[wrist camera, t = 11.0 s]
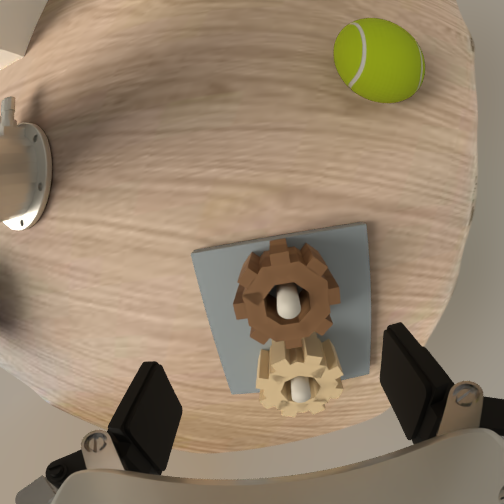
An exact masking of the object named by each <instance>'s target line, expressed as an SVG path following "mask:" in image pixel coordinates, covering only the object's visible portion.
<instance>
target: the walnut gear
mask: <svg viewBox="0 0 504 504" xmlns="http://www.w3.org/2000/svg"><path fill="white" fill-rule="evenodd" d="M291 282H294V283H296V284H297V285H299V286H300V287H302V288H303V289H302V291H301V292H300V293H299V294H298V296H299V301H300V305H301V311H300V313H299V314H298V315H297V316H296V317H295V318H292V319H285V318H282V317H281V316H280V315H279V314H278V311H277V299H276V298H275V297H273V296H272V295H270V294H269V292H270V290H271V289H272V288H273V286H274V285H279V284H285V283H291ZM237 283H239V286H238V289H237V292H236V295H235V299H234V302H233V307H234V312H235V316H236V320H240V319H248V323H249V326H251V331H250V337H251V338H252V339H254V340H256V341H257V342H259V343H261V344H262V345H264V344H265V343H266V342H267V341H268V340H269V339H270V338H271V339H272V340H274V341H276V342H280V341H284V342H285V348H286V349H291V348H297V347H302V340H301V338H305V337H310V335H311V334H312V333H313V332H314V331H315V332H316V333H318V334H320V335H321V336H323V335H324V334H325V333H326V331H327V330H328V329H329V328H330V327H331V326H332V325H333V322H332V319H331V317H330V313H331V311H330V305H335V304H340V303H341V302H340V289H339V286H338V284H337V282H336V281H335V279H334V277H333V276H332V274H331V272H330V271H329V269H328V266H327V265H326V263H325V261H324V260H323V258H322V257H321V255H320V253H319V252H318V251H317V250H316V249H314V248H313V247H311V246H310V245H309V244H307V243H305V244H304V246H303V247H302V248H301V250H299V249H297V248H296V247H295V246H293V247H287V243H286V239H285V238H282V239H276V240H270V247H269V251H264V252H263V254H262V255H261V256H260V257H259V256H258V255H256V254H255V253H253V252H251V254H250V255H249V256H248V258H247V259H246V261H245V262H244V264H243V266H242V269H241V272H240V275H239V278H238V281H237Z"/></svg>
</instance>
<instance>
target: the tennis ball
mask: <svg viewBox="0 0 504 504" xmlns="http://www.w3.org/2000/svg"><path fill="white" fill-rule="evenodd" d="M334 62H335V66H336V69H337V71H338V73H339V75H340V77H341V78H342V80H343V81H344V82H345V84H346V85H347V86H348V87H349V88H351V90H352V91H354V92H355V93H356V94H358V95H360V96H362V97H364V98H366V99H368V100H371V101H375V102H379V103H395V102H400V101H403V100H405V99H407V98H409V97H411V96H412V95H413V94H414V93H415V92H416V91H417V90H418V89H419V88H420V86H421V84H422V82H423V79H424V75H425V61H424V57H423V53H422V51H421V49H420V47H419V45H418V43H417V42H416V41H415V39H414V38H413V37H412V36H411V35H410V34H409V33H408V32H407V31H406V30H404V29H403V28H402V27H400V26H398V25H396V24H394V23H392V22H390V21H387V20H383V19H378V18H365V19H360V20H356V21H354V22H352V23H350V24H348V25H347V26H345V27H344V28H343V29H342V31H341V32H340V33H339V35H338V37H337V39H336V41H335V45H334Z"/></svg>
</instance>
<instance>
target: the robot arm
mask: <svg viewBox="0 0 504 504" xmlns="http://www.w3.org/2000/svg"><path fill="white" fill-rule="evenodd" d="M14 113H15V97H12V96H11V97H7V98H5V99H3V100H2V105H1V116H2V117H1V116H0V222H4V223H5V224H6V225H7V226H8V227H9V228H11V229H12V230H16V231H21V230H25V229H28V228H30V227H31V226H33V225H34V224H35V223H36V222H37V221H38V219H39V218H40V216H41V215H42V213H43V211H44V208H45V206H46V203H47V200H48V196H49V192H50V186H51V179H52V157H51V151H50V146H49V143H48V139H47V137H46V135H45V133H44V131H43V130H42V129H41V128H40V127H39V126H37V125H36V124H33V123H20V124H18V125H17V121H16V120H14ZM380 383H381V385H382V387H383V389H384V391H385V393H386V395H387V397H388V399H389V402H390V404H391V406H392V408H393V410H394V412H395V414H396V416H397V418H398V420H399V422H400V424H401V426H402V429H403V431H404V433H405V435H406V437H407V439H408V440H411V439H412V441H413V444H414V445H411V446H409V447H406V448H403V449H400V450H398V451H395V452H392V453H388V454H385V455H382V456H379V457H376V458H372V459H369V460H365V461H362V462H358V463H354V464H350V465H346V466H342V467H337V468H333V469H328V470H323V471H317V472H311V473H305V474H298V475H291V476H282V477H272V478H259V479H237V480H236V479H234V480H218V479H217V480H216V479H215V480H213V479H192V478H180V477H170V476H161V473H162V471H164V470H165V469H166V467H167V463H168V460H169V456H170V452H171V449H172V446H173V443H174V439H175V436H176V432H177V429H178V426H179V422H180V419H181V416H182V406H181V404H180V402H179V400H178V398H177V396H176V394H175V392H174V390H173V388H172V386H171V384H170V382H169V380H168V378H167V375H166V373H165V371H164V369H163V367H162V365H159V364H158V363H157V362H155V361H153V362H143V363H142V365H141V367H140V368H139V370H138V372H137V374H136V376H135V377H134V379H133V381H132V383H131V384H130V386H129V388H128V390H127V392H126V393H125V395H124V397H123V399H122V401H121V403H120V404H119V406H118V408H117V410H116V412H115V414H114V416H113V417H112V419H111V421H110V423H109V425H108V428H109V429H108V431H107V432H106V431H103V430H95V431H92V432H90V433H88V434H87V435H86V436H85V437H84V438H83V440H82V442H81V450H79V451H77V452H75V453H72V454H70V455H68V456H65V457H63V458H61V459H58V460H56V461H53V462H52V463H50V465H49V466H48V467H47V469H46V477H44V476H41V477H39V478H38V479H36V480H35V481H34V482H32V483H31V484H30V485H28V486H27V487H25V488H24V489H22V490H21V491H19V492H18V494H17V495H16V504H504V399H497V398H490V397H484V396H483V391H482V389H481V387H480V386H479V385H478V384H476V383H474V382H471V381H462V382H459V383H457V384H454V383H453V382H452V380H451V379H450V378H449V376H448V375H447V374H446V373H445V371H444V370H443V369H442V367H441V366H440V365H439V364H438V362H437V361H436V360H435V359H434V357H433V356H432V355H431V354H430V352H429V351H428V350H427V349H426V348H425V347H423V346H421V345H420V344H419V343H418V341H417V340H416V339H415V338H414V337H413V335H412V334H411V333H410V332H409V331H408V329H407V328H406V327H405V326H404V325H403V324H402V323H401V322H399V323H396V324H392V325H389V326H388V327H387V330H384V334H383V349H382V361H381V371H380Z"/></svg>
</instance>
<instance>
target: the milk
mask: <svg viewBox="0 0 504 504" xmlns="http://www.w3.org/2000/svg"><path fill="white" fill-rule="evenodd" d="M47 1H48V0H0V70H2V69H3V68H5V67H7V66H9V65H10V64H12V63H14V62H16V61H17V60H19V59H21V58H23V57H24V56H25V53H26V50H27V47H28V44H29V42H30V39H31V37H32V34H33V32H34V29H35V27H36V25H37V22H38V20H39V18H40V16H41V14H42V11H43V9H44V7H45V5H46V3H47Z"/></svg>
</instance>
